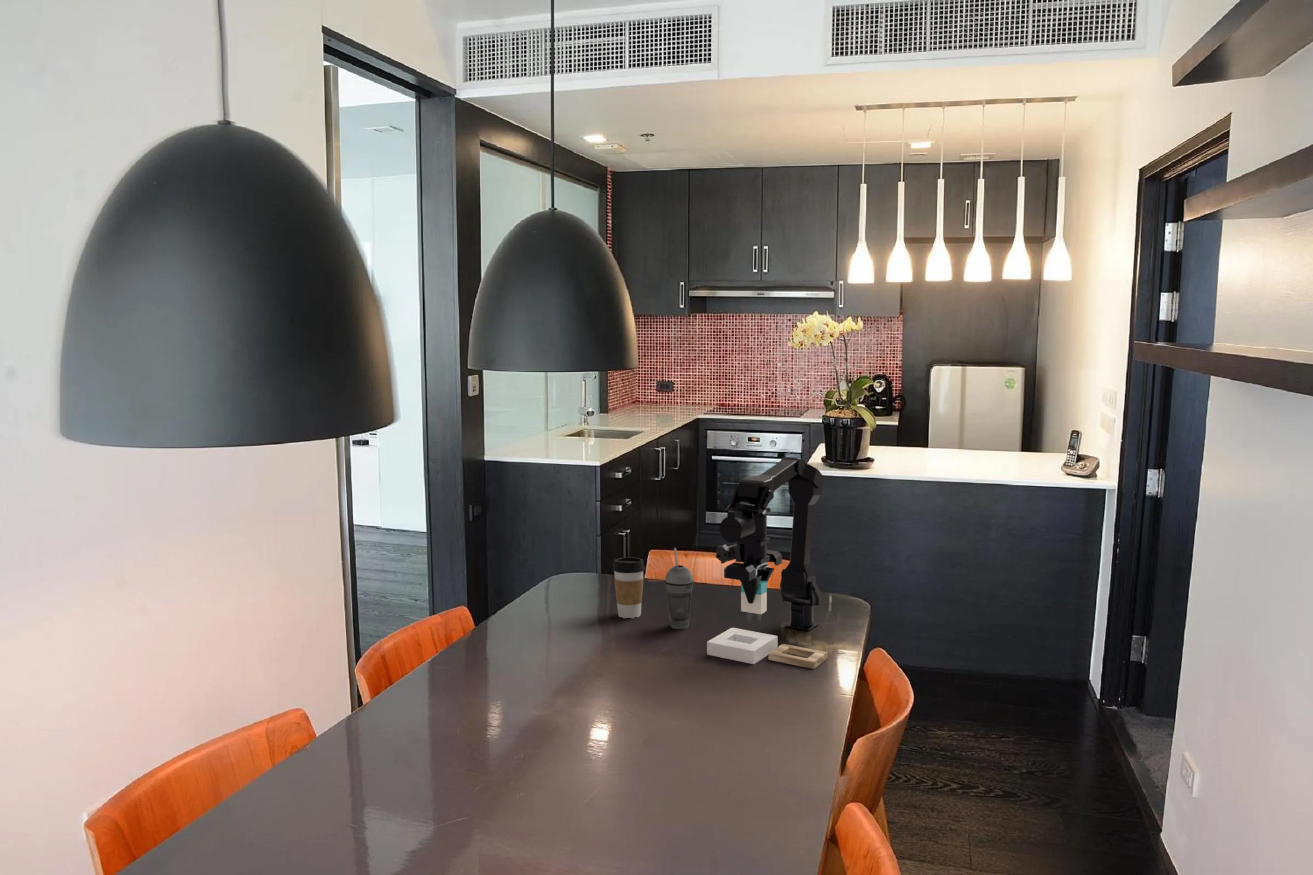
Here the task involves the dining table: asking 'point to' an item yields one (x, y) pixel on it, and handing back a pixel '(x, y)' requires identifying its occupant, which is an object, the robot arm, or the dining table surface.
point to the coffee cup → (628, 586)
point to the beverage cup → (679, 594)
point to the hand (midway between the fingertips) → (753, 601)
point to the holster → (782, 656)
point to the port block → (742, 645)
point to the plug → (755, 600)
